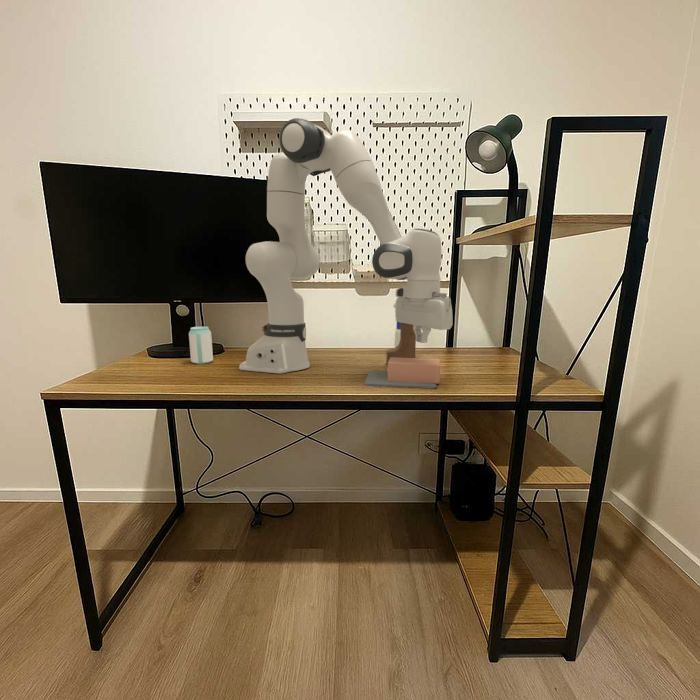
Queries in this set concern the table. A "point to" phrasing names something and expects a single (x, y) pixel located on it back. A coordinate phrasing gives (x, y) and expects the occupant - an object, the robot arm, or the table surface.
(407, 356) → the wooden block
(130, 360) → the table surface
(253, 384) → the table surface
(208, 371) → the table surface
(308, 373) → the table surface
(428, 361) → the terracotta block
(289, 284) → the robot arm
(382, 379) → the mat
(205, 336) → the can
